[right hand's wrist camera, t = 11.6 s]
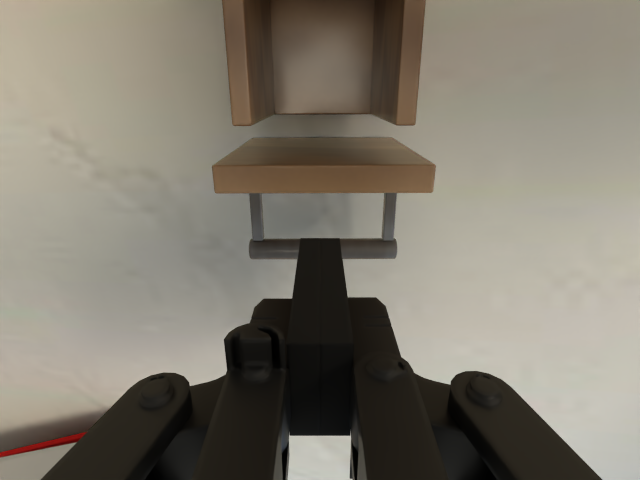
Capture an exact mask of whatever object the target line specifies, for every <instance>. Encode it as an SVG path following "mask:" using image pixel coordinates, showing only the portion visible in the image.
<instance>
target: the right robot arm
mask: <svg viewBox="0 0 640 480" xmlns="http://www.w3.org/2000/svg"><path fill="white" fill-rule="evenodd" d="M224 344H225V353H226V363H227V373H226V375H224V376H222V377H220V378H218V379H216V380H213V381H210V382H207V383H202V384H198V385H194V386H190V385H189V382H188V381H187V379H186V378H185V377H184V376H182V375H179V374H176V373H160V374H156V375H151V376H149V377H147V378H145V379H142V380H140V381H139V382H137V383H136V384H135V385H133V386H132V387H131V388H130V389H129V390H128V391H127V392H126V393H125V394H124V395H123V396H122V397H121V398H120V399H119V400H118V401H117V402H116V403H115V404H114V405H113V406H112V407H111V408H110V409H109V410H108V411H107V412H106V413H105V414H104V415H103V416H102V417H101V418H100V419H99V420H98V421H97V422H96V423H95V424H94V425H93V426H92V427H91V428H90V429H89V430H88V432H87V433H86V434H85V435H84V436H83V437H82V438H81V439H80V440H79V441H78V442H77V443H76V444H75V445H74V446H73V447H72V448H71V449H70V450H69V451H68V452H67V453H66V454H65V455H64V456H63V457H62V458H61V459H60V460H59V461H58V462H57V463H56V464H55V465H54V466H53V467H52V468H51V469H50V470H49V471H48V472H47V473H46V474H45V475H44V477H43V478H42V479H41V480H287V478H288V466H289V431H290V436H350V429H351V460H350V479H353V480H602V479H601V478H600V477H599V476H598V475H597V474H596V473H595V472H594V471H593V470H592V469H591V468H590V467H589V466H588V465H587V464H586V463H585V462H584V461H583V460H582V459H581V458H580V457H579V456H578V455H577V454H576V453H575V452H574V451H573V450H572V448H571V447H570V446H569V445H568V444H567V443H566V442H565V441H564V440H563V439H562V438H561V437H560V436H559V435H558V434H557V433H556V432H555V431H554V430H553V429H552V428H551V427H550V426H549V425H548V424H547V423H546V422H545V421H544V420H543V419H542V418H541V417H540V416H539V415H538V414H537V413H536V412H535V411H534V410H533V409H532V408H531V407H530V406H529V405H528V404H527V403H526V402H525V401H524V400H523V399H522V398H521V397H520V396H519V395H518V394H517V393H516V392H515V391H514V390H513V389H512V388H511V387H510V386H509V385H508V384H506V383H505V382H504V381H503V380H501V379H499V378H497V377H495V376H493V375H490V374H487V373H483V372H478V371H465V372H462V373H460V374H457V375H456V376H455V377H454V378H453V379H452V381H451V385H449V384H444V383H440V382H436V381H432V380H429V379H425V378H423V377H421V376H419V375H417V374H415V373H414V372H413V369H412V368H411V366H410V365H409V363H408V362H407V361H406V360H404V359H403V358H402V357H401V355H400V352H399V349H398V346H397V342H396V339H395V336H394V332H393V329H392V327H391V323H390V319H389V316H388V313H387V310H386V306H385V305H384V304H383V303H381V302H380V301H379V300H378V299H377V298H348V297H347V290H346V282H345V275H344V268H343V260H342V253H341V245H340V238H300V245H299V253H298V260H297V268H296V275H295V282H294V290H293V297H292V299H263V300H262V301H261V302H260V303H259V304H258V305H257V306H256V307H255V308H254V311H253V314H252V319H251V321H250V323H249V324H245V325H242V326H239V327H237V328H235V329H234V330H232V331H231V332H229V333H228V335H227V336H226V337H225V339H224Z"/></svg>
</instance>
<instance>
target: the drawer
mask: <svg viewBox="0 0 640 480" xmlns="http://www.w3.org/2000/svg"><path fill="white" fill-rule="evenodd" d="M425 2H426V0H222V5H223V17H224V29H225V41H226V53H227V65H228V77H229V89H230V101H231V114H232V124H233V126H251V125H253V124H255V123H257V122H259V121H261V120H264V119H266V118H268V117H270V116H272V115H274V114H372V115H374V116H377V117H379V118H381V119H384V120H386V121H388V122H390V123H393V124H395V125H415V121H416V109H417V97H418V86H419V74H420V62H421V50H422V38H423V26H424V14H425ZM435 168H436V166H435V164H433V163H432V162H430V161H428V160H427V159H425V158H424V157H422V156H420V155H419V154H417V153H416V152H414V151H413V150H411V149H409V148H408V147H406V146H405V145H403V144H402V143H400V142H398V141H397V140H395V139H394V138H252V139H251V140H249V141H248V142H246V143H245V144H243V145H242V146H240V147H239V148H237V149H236V150H234V151H233V152H232V153H230V154H229V155H227V156H226V157H224V158H223V159H221V160H220V161H218V162H217V163H215V164H214V165H213V166H212V171H213V181H214V190H215V193H249V195H250V209H251V223H252V237H253V239H251V240H250V243H249V255H250V258H251V259H298V253H299V245H300V239H264V226H263V209H262V193H384V207H383V224H382V238H357V239H340V245H341V253H342V259H395V258H396V256H397V242H396V239H394V225H395V211H396V197H397V193H432V192H433V187H434V178H435Z"/></svg>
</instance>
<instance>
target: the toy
mask: <svg viewBox="0 0 640 480" xmlns="http://www.w3.org/2000/svg"><path fill="white" fill-rule="evenodd" d="M86 433H87V432H84V433H79V434H75V435H71V436H67V437H63V438H59V439H54V440H50V441H46V442H42V443H38V444H33V445H29V446H25V447H21V448H17V449H12V450H8V451H4V452H0V480H41V479H42V478H43V477H44V475H45V474H46V473H47V472H48V471H49V470H50V469H51V468H52V467H53V466H54V465H55V464H56V463H57V462H58V461H59V460H60V459H61V458H62V457H63V456H64V455H65V454H66V453H67V452H68V451H69V450H70V449H71V448H72V447H73V446H74V445H75V444H76V443H77V442H78V441H79V440H80V439H81V438H82V437H83V436H84V435H85V434H86Z"/></svg>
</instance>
